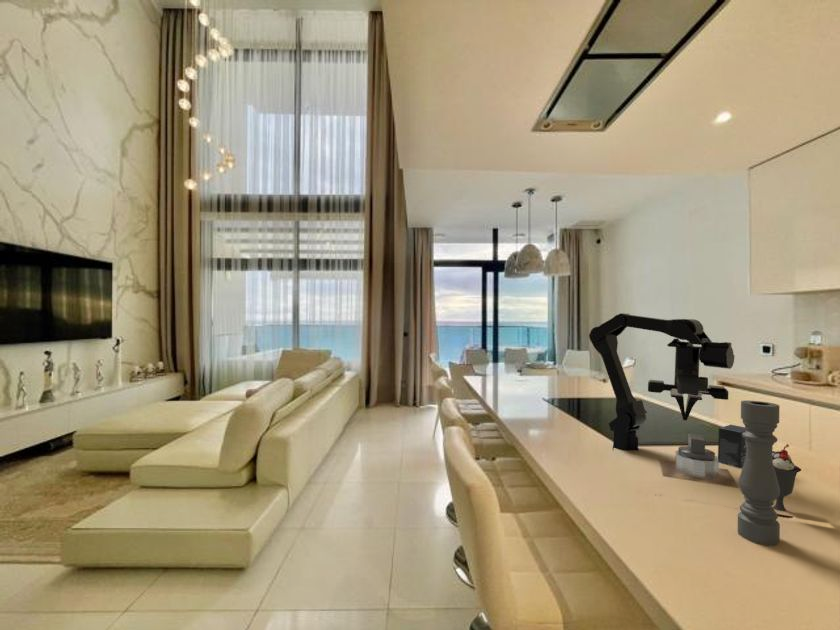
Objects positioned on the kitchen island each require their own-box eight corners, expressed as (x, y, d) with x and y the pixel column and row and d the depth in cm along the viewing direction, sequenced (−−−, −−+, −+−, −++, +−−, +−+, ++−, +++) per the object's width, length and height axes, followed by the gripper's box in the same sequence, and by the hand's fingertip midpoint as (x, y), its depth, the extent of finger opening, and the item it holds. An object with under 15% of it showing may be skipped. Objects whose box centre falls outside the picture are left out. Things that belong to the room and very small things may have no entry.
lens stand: (662, 479, 109) (662, 475, 109) (659, 462, 122) (659, 459, 122) (740, 491, 102) (740, 487, 102) (727, 472, 115) (727, 469, 115)
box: (740, 471, 116) (741, 432, 116) (717, 464, 121) (717, 427, 121) (752, 466, 121) (753, 428, 121) (729, 460, 125) (729, 423, 125)
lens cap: (679, 469, 110) (680, 438, 110) (676, 459, 117) (677, 431, 117) (717, 474, 107) (717, 443, 107) (711, 464, 114) (712, 435, 114)
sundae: (791, 522, 87) (792, 448, 87) (753, 509, 93) (754, 439, 93) (807, 516, 90) (808, 444, 90) (769, 503, 96) (770, 436, 96)
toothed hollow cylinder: (677, 475, 110) (677, 457, 110) (674, 464, 118) (674, 448, 118) (720, 481, 106) (721, 463, 106) (714, 470, 114) (714, 453, 114)
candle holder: (729, 529, 83) (731, 400, 84) (759, 528, 84) (760, 400, 84) (756, 546, 77) (758, 406, 77) (788, 545, 78) (790, 406, 78)
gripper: (649, 364, 117) (646, 421, 117) (733, 370, 108) (730, 432, 108) (648, 360, 127) (647, 413, 127) (726, 366, 118) (723, 422, 118)
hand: (684, 420), depth 120 cm, fingers closed
